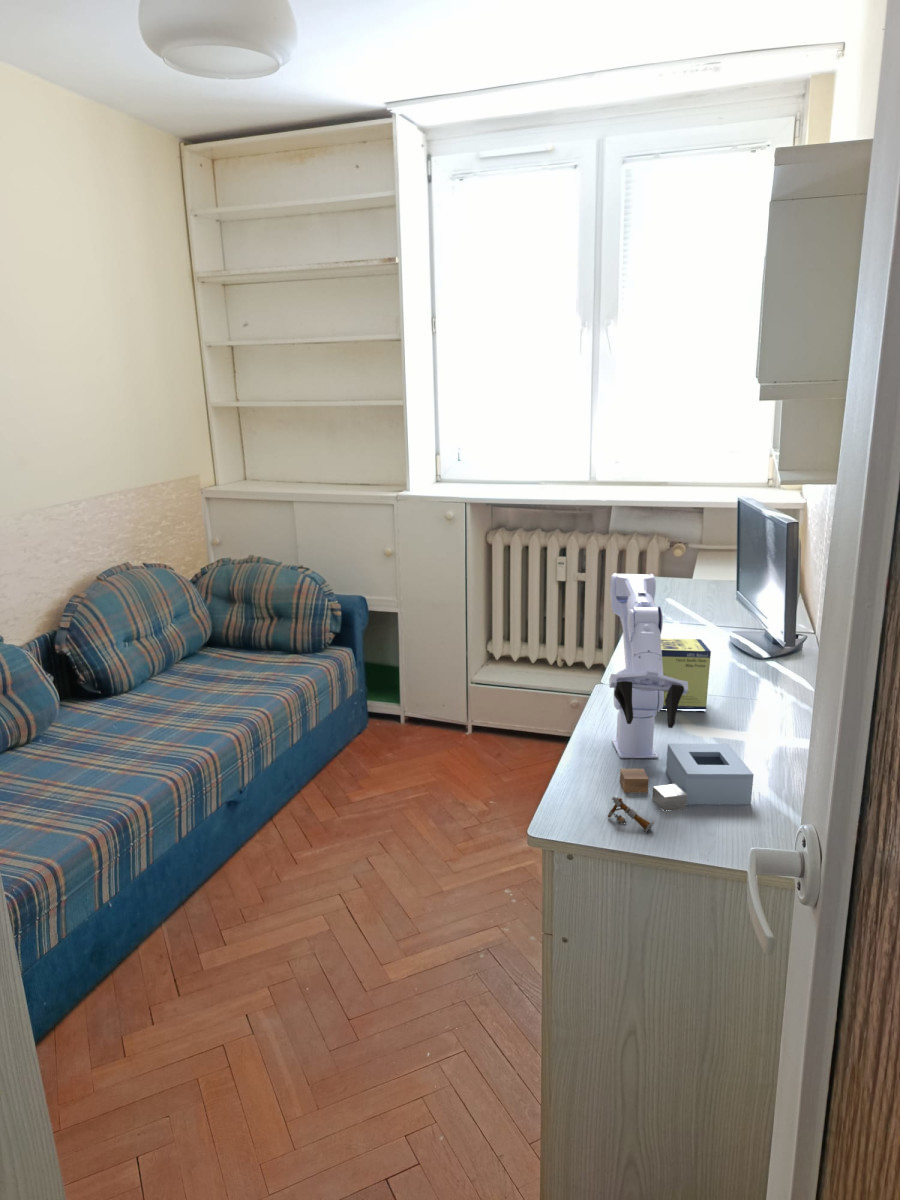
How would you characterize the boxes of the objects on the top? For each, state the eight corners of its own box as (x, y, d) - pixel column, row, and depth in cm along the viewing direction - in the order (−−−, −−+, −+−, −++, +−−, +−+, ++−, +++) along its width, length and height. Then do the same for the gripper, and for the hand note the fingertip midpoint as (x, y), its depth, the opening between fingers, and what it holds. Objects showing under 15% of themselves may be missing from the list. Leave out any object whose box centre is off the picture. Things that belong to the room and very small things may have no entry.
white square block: (651, 801, 151) (652, 786, 151) (673, 798, 152) (674, 783, 152) (663, 812, 147) (664, 797, 146) (686, 809, 148) (687, 794, 147)
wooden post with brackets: (606, 810, 146) (616, 792, 144) (643, 839, 142) (654, 821, 140) (601, 814, 144) (612, 795, 142) (639, 844, 141) (650, 825, 139)
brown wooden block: (619, 782, 159) (620, 768, 158) (642, 783, 159) (643, 768, 158) (624, 793, 154) (624, 778, 154) (647, 793, 154) (648, 779, 154)
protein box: (707, 712, 196) (712, 650, 192) (641, 711, 197) (645, 649, 193) (697, 698, 206) (701, 638, 202) (634, 696, 207) (638, 637, 203)
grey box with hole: (665, 771, 163) (667, 743, 162) (725, 771, 163) (728, 743, 162) (685, 804, 150) (687, 774, 148) (750, 804, 150) (753, 774, 148)
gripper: (613, 645, 155) (615, 709, 147) (690, 653, 154) (696, 717, 147) (606, 664, 161) (608, 726, 153) (680, 671, 160) (685, 734, 153)
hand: (650, 723), depth 150 cm, fingers open, 7 cm apart
